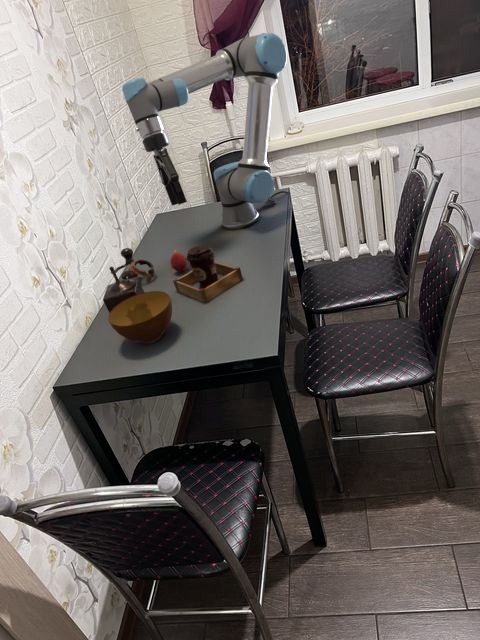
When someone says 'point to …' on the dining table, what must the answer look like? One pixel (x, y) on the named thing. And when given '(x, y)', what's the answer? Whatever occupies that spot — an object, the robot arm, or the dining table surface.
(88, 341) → the dining table surface
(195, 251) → the coffee cup
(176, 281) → the wooden frame
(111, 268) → the manual coffee grinder
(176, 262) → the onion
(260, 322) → the dining table surface
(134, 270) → the pottery mug
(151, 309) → the bowl
